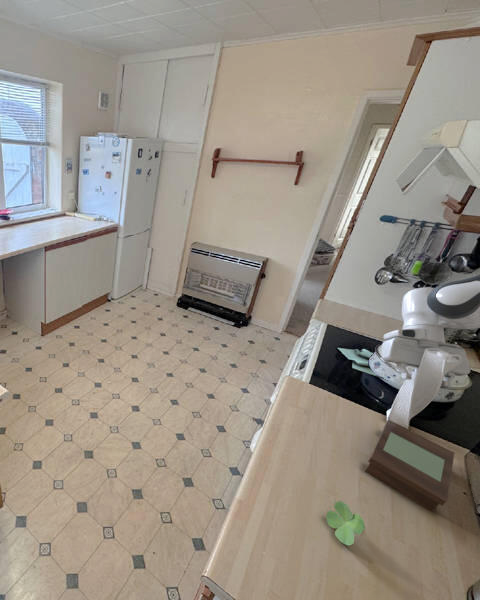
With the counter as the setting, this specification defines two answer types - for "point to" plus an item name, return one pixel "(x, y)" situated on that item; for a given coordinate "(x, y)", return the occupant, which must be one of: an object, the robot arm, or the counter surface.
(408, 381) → the white twisted piece
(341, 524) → the seedling
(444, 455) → the wooden jewelry box
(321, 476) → the counter surface
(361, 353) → the cloth
